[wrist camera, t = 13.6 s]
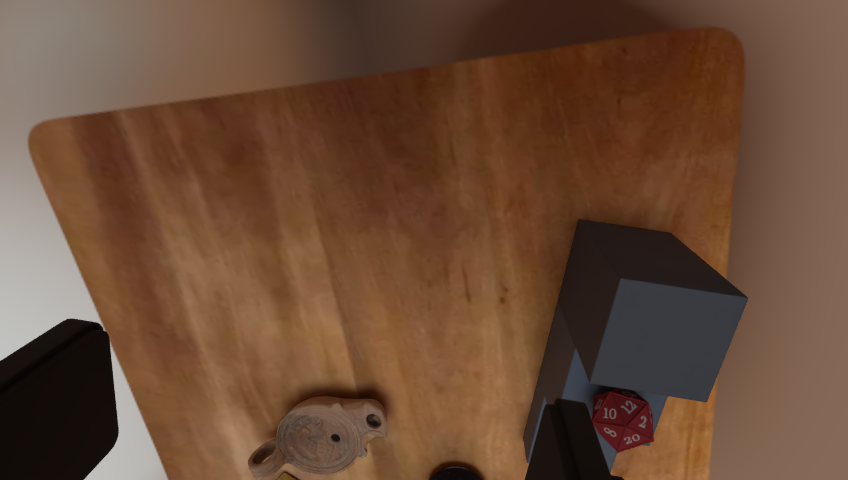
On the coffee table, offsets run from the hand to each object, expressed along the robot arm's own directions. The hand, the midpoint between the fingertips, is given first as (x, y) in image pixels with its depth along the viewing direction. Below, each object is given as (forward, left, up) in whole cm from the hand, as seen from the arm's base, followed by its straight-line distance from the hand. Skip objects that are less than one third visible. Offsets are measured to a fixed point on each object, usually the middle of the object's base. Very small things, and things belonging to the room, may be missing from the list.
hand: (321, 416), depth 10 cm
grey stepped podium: (+13, +16, -28) cm, 35 cm away
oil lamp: (+25, -6, -28) cm, 38 cm away
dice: (+13, +16, -22) cm, 30 cm away
